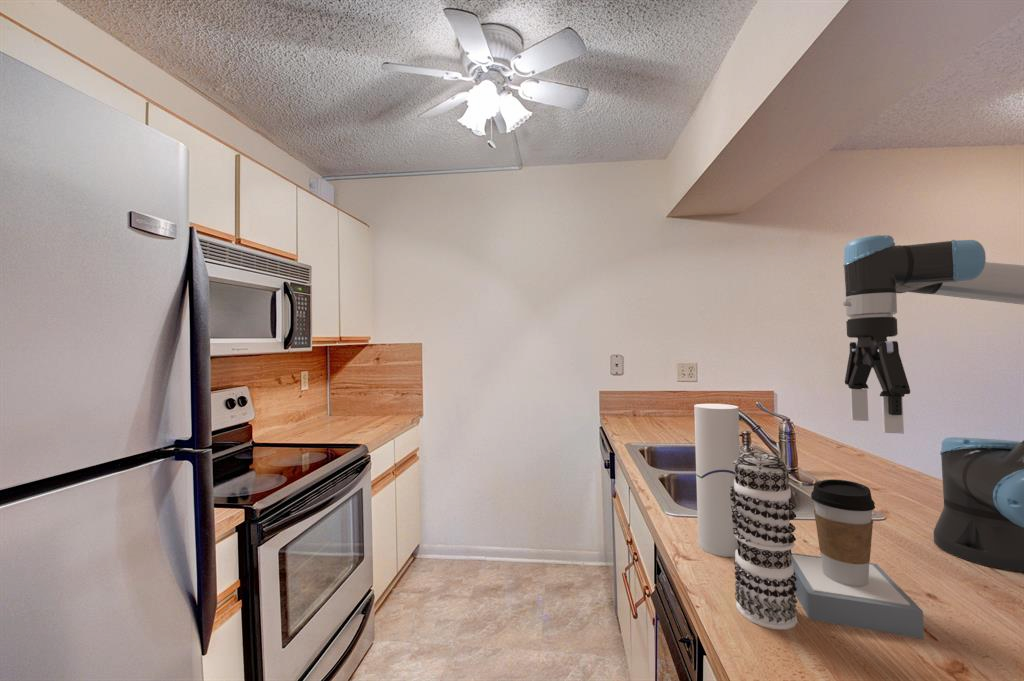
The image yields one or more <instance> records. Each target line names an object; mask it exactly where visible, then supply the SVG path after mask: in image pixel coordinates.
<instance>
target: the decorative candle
mask: <svg viewBox="0 0 1024 681" xmlns="http://www.w3.org/2000/svg"><path fill="white" fill-rule="evenodd" d="M733 464H734V465H735V480H734V486H732V487H730V488H731V489H730V490H731V491H732V492H731V493H730V496H731V497H730V499H731V500H732V501H733V505H731V509H732V513H733V514H732V522H733V523H735V526H734V527H733V531H734V532H733V533H734V536H735V537H736V538H737V546H738V549H737V550H736V552H737V561H735V560H734V563H733V564H734V569H735V571H734V575H735V576H734V578H735V582H734V586H735V587H734V588H735V592H734V595H735V602H736V604H735V605H736V610H737V611H738V612H739V614H740V615H741V616H743V617H744V618H745V619H746V620H748V621H749V622H752V623H754V624H756V625H759V626H760V627H763V628H767V629H772V630H790V629H793V628H794V627H796V625H797V624H798V619H797V614H798V612H799V611H798V609H797V605H796V604H797V603H798V600H799V599H798V598H797V595H796V594H795V592H794V591H797V588H796V587H795V582H794V581H796V580H797V578H796V577H795V573H794V572H793V562H792V560H791V557H792V556H791V553H792V549H793V548H795V546H796V545H795V542H796V541H797V538H796V537H795V535H794V534H793V533H794V532H795V531H796V526H795V525H794V524H793V523H791V522H790V521H793V520H794V519H796V518H797V514H796V513H795V512H794V511H792V510H794V509H796V507H797V504H796V503H795V502H794V501H792V500H791V497H792V494H791V493H792V492H791V487H790V483H789V482H790V478H789V477H790V476H789V471H791V470H792V469H791V467H790V466H789V465H787V464H786V463H785V462H784V460H783V459H782V458H781V457H780V456H777V455H775V454H771V453H766V452H759V451H755V452H752V451H750V452H744V453H740V456H739V458H738V459H737V460H735V461H733ZM734 488H735V489H734ZM735 495H736V496H737V500H736V497H735ZM736 507H737V508H736ZM736 517H737V518H736ZM736 570H737V571H736Z"/></svg>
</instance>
